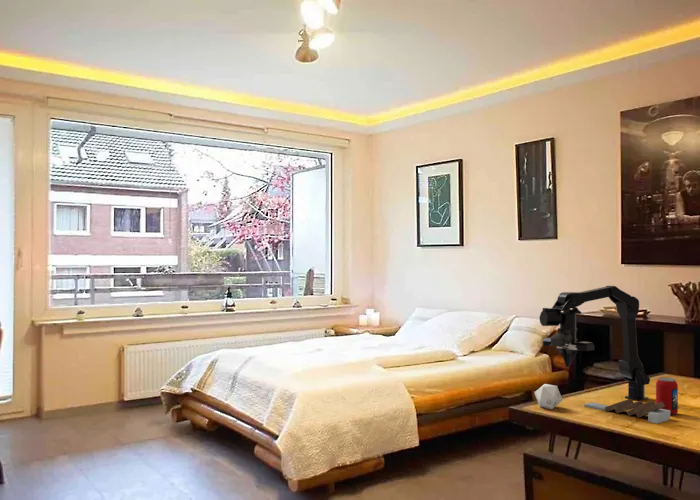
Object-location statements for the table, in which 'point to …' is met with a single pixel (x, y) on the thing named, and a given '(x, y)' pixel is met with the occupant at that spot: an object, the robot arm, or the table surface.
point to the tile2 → (628, 406)
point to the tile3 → (640, 408)
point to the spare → (596, 406)
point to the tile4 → (650, 409)
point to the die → (548, 396)
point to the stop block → (659, 416)
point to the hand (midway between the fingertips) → (567, 367)
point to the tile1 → (619, 404)
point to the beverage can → (667, 394)
